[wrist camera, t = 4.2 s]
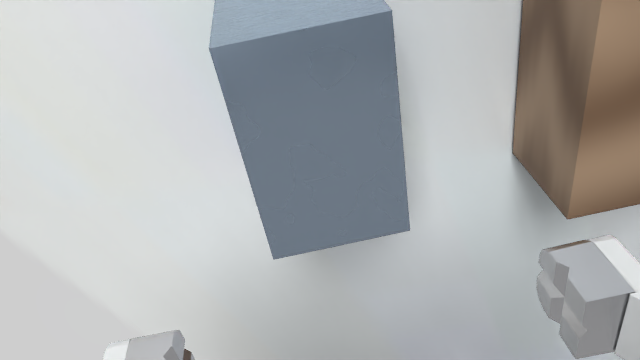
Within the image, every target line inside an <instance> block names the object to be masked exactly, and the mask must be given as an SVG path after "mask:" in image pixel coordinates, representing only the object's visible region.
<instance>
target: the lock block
mask: <svg viewBox="0 0 640 360" xmlns="http://www.w3.org/2000/svg"><path fill="white" fill-rule="evenodd" d="M209 50H210V53H211V57H212V60H213V63H214V66H215V70H216V73H217V76H218V79H219V83H220V86H221V89H222V93H223V96H224V99H225V102H226V106H227V109H228V112H229V115H230V119H231V122H232V125H233V129H234V132H235V135H236V138H237V142H238V145H239V148H240V151H241V155H242V158H243V161H244V164H245V168H246V171H247V174H248V178H249V181H250V184H251V187H252V191H253V194H254V197H255V200H256V204H257V207H258V210H259V213H260V217H261V220H262V223H263V227H264V230H265V233H266V236H267V240H268V243H269V246H270V249H271V253H272V256H273V259H279V258H283V257H288V256H293V255H297V254H302V253H307V252H311V251H316V250H321V249H325V248H330V247H335V246H339V245H344V244H349V243H353V242H358V241H363V240H367V239H372V238H377V237H381V236H386V235H391V234H395V233H400V232H405V231H409V230H410V224H409V212H408V200H407V188H406V176H405V164H404V151H403V139H402V127H401V115H400V103H399V91H398V79H397V66H396V54H395V42H394V30H393V18H392V10H391V9H390V7H389V6H388V5H387V4H386V2H385V1H384V0H215V5H214V13H213V21H212V29H211V37H210V45H209Z"/></svg>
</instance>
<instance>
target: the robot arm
mask: <svg viewBox="0 0 640 360" xmlns="http://www.w3.org/2000/svg"><path fill="white" fill-rule="evenodd" d="M539 264H540V265H541V267H542V268H543V270H542V272H541V273H540V274H539V275H538V276H537V287H536V288H537V292H538V297H539V300H540V302H541V305H542V307H543V309H544V311H545V312H546V314H547V316H548V317H549V318H551V319H552V320H554V321H556V322H558V323H560V331H559V335H560V336H561V338H562V339H563V341H564V342H565V344H566V345H567V347H568V348H569V350H570V352H571V353H572V355H573V356H574V358H575V359H578V358H583V357H588V356H594V355H599V354H604V353H609V352H614V351H615V353H614V354H616V355H617V356H619V357H620V358H622V359H624V360H640V263H639V262H638V261H637V260H636V259H635V258H634V256H633V255H632V254H631V253H630V252H629V251H628V250H627V249H626V248H625V247H624V246H623V245H622V244H621V243H620V242H619V241H618V239H617V238H616V237H614V236H612V235H606V236H601V237H597V238H592V239H588V240H582V241H578V242H573V243H569V244H565V245H560V246H556V247H552V248H547V249H543V250H542V251H541V253H540V255H539ZM184 345H185V339H184V337H183V335H182V333H181V332H180V330H174V331H169V332H164V333H158V334H153V335H148V336H143V337H137V338H133V339H129V340H124V341H118V342H113V343H110V344H109V345H108V347H107V348H106V350H105V352H104V356H103V360H195V359H194V356H193V354H192V352H190V351H188V350H186V349H184Z"/></svg>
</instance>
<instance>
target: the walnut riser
mask: <svg viewBox="0 0 640 360" xmlns="http://www.w3.org/2000/svg"><path fill="white" fill-rule="evenodd" d="M513 154H514V155H515V156H516V158H517V159H518V160H519V161H520V162H521V164H522V165H523V166H524V167H525V169H526V170H527V171H528V172H529V173H530V175H531V176H532V177H533V178H534V179H535V181H536V182H537V183H538V184H539V186H540V187H541V188H542V189H543V190H544V192H545V193H546V194H547V195H548V197H549V198H550V199H551V200H552V201H553V203H554V204H555V205H556V206H557V208H558V209H559V210H560V211H561V212H562V214H563V215H564V216H565V217H566V219H572V218H577V217H581V216H586V215H591V214H595V213H600V212H605V211H609V210H614V209H619V208H623V207H628V206H633V205H637V204H640V0H523V9H522V24H521V38H520V53H519V68H518V82H517V97H516V112H515V127H514V141H513Z"/></svg>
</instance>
